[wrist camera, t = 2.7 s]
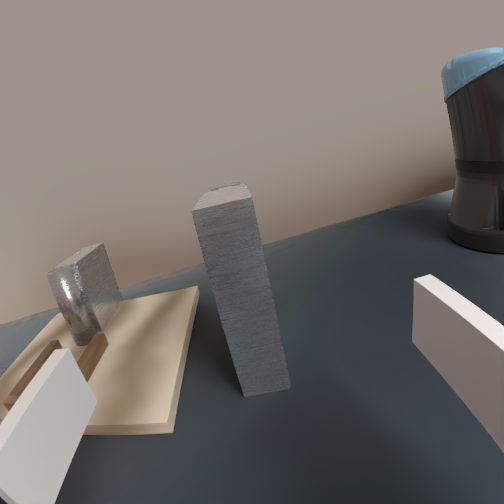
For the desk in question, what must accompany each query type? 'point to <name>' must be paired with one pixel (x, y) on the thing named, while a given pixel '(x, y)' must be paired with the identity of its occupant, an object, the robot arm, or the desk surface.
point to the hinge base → (121, 363)
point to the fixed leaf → (86, 292)
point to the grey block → (241, 287)
